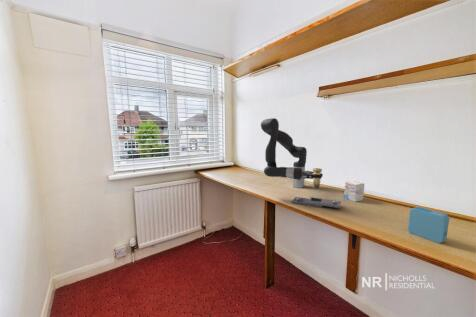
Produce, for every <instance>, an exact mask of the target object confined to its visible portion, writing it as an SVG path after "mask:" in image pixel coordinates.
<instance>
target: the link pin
mask: <svg viewBox="0 0 476 317" xmlns="http://www.w3.org/2000/svg"><path fill="white" fill-rule="evenodd" d="M312 171H313V172H314V173H313V174H317V175H321V173H323V172H322V171H323V168H320V167H319V168H318V167H314V168H312ZM312 180H313V183H312V184H313V185H312V186H313V187H312V188H314V189H321V179H319V178H313V179H312Z"/></svg>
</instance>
